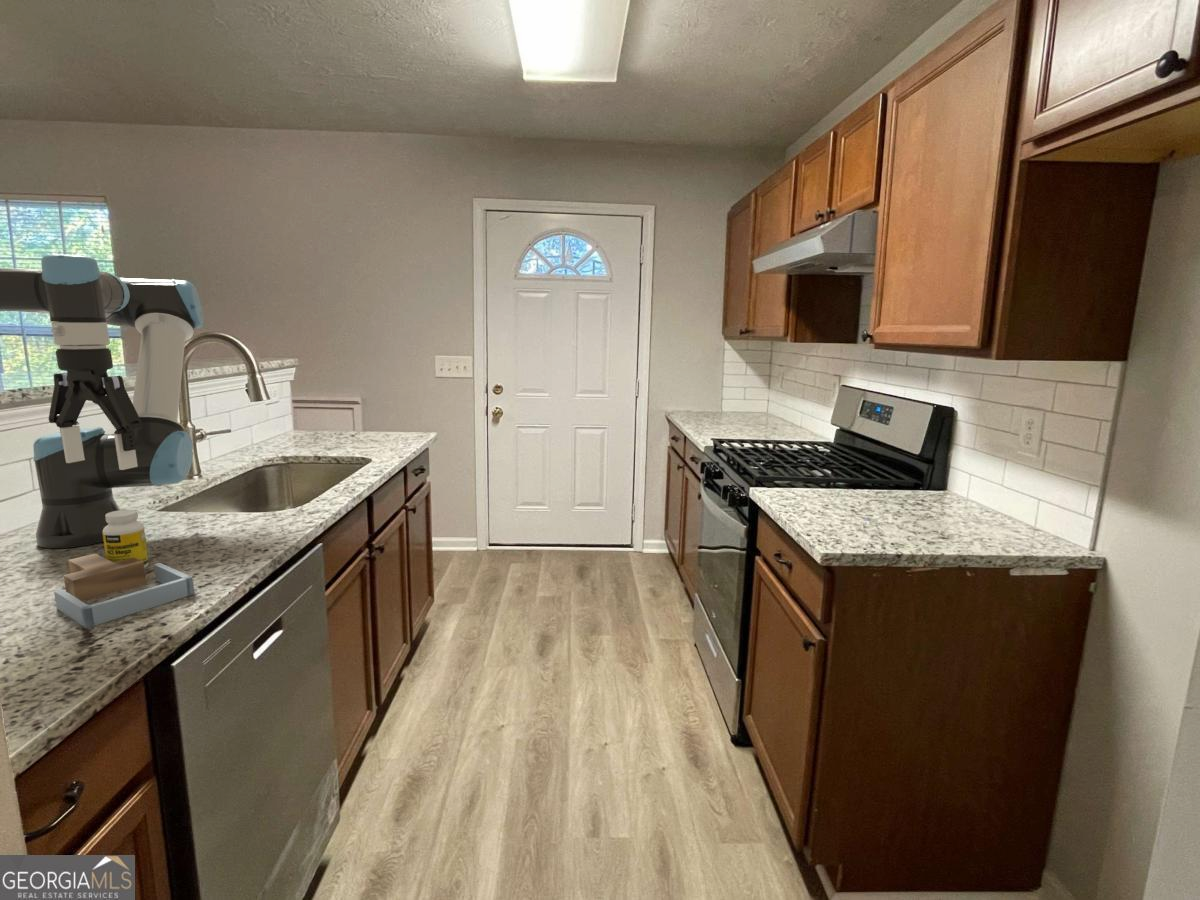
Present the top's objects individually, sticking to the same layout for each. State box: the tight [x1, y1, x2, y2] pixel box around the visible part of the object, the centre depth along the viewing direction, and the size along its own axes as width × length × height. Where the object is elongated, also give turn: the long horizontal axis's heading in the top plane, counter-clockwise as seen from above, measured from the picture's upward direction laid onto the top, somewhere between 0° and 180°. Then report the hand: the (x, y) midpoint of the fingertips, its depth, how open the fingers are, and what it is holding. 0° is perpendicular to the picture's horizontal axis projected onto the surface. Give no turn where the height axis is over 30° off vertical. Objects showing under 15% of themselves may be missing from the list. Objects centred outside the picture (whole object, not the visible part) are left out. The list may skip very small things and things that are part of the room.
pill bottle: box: [103, 509, 149, 569], centre depth 115 cm, size 6×6×11 cm
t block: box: [63, 553, 147, 602], centre depth 108 cm, size 12×10×4 cm
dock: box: [53, 562, 195, 629], centre depth 102 cm, size 12×15×3 cm
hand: (101, 464), depth 113 cm, fingers open, 13 cm apart
